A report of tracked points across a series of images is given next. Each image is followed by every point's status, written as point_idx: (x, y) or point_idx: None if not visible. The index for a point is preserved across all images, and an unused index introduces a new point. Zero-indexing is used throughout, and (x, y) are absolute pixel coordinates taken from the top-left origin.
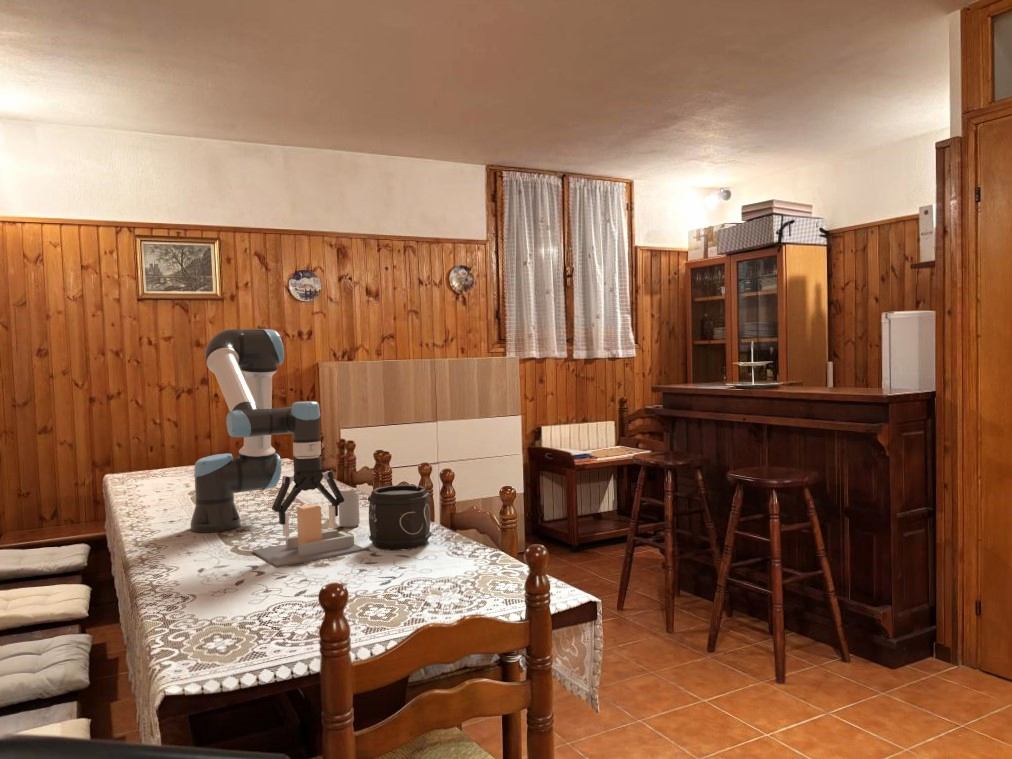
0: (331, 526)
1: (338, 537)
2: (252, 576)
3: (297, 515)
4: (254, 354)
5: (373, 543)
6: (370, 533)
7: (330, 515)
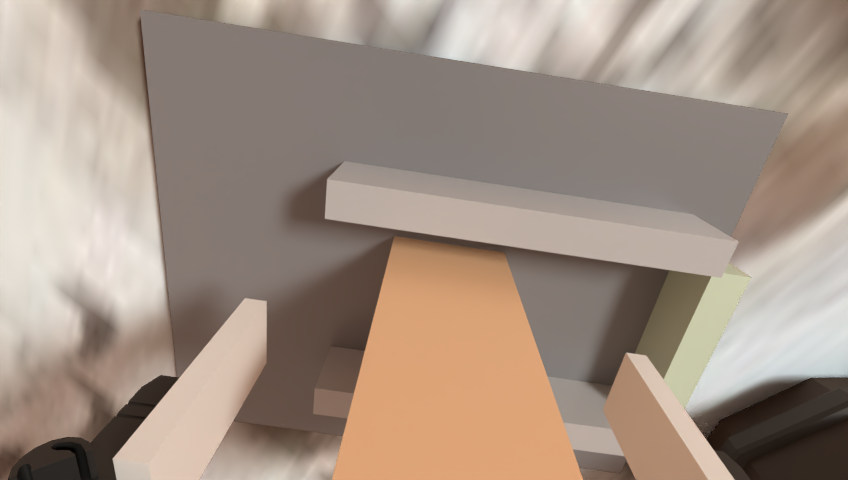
0: (617, 397)
1: (570, 430)
2: (62, 437)
3: (355, 390)
4: None
5: (718, 442)
6: (755, 474)
7: (665, 463)
